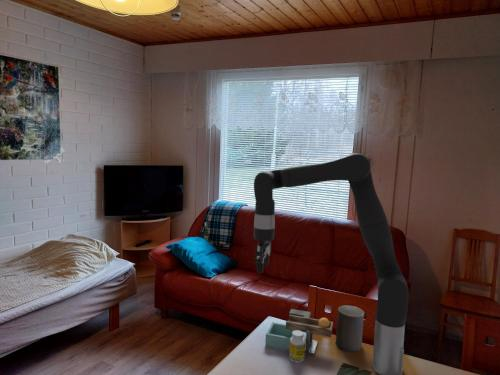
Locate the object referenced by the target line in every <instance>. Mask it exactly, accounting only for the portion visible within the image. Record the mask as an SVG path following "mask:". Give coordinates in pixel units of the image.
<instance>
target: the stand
mask: <svg viewBox="0 0 500 375" xmlns="http://www.w3.org/2000/svg"><path fill="white" fill-rule="evenodd" d="M305 335H306V336H305V338H304V339H305V355H308V356H311V357H312V356H313V357H314V356H315V353H316V349H317V346H318V340H313V337H314V334H310V330H308V329H307V333H306V334H305Z"/></svg>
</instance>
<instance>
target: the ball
mask: <svg viewBox="0 0 500 375" xmlns="http://www.w3.org/2000/svg"><path fill="white" fill-rule="evenodd" d="M318 320H319V326H320V327H323V328H328V327H329V325H330V323H329V322H330V321H329V319H328V318H327V317H321V318H319V319H318Z"/></svg>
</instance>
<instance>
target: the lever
mask: <svg viewBox="0 0 500 375" xmlns="http://www.w3.org/2000/svg"><path fill="white" fill-rule="evenodd" d="M311 313H312V312H311V311H306V310H300V309H294V308H291V309H290V311H289V313H288V320H286V321H285V325H286V329H288V330H294V331H295V330H299V331H302V332H303V333H307V329H308V330H310V334H313V335H316V336H317V335H318V336H321V337H328V338H332V335H333V331H334V330H333V329H334V322H333V321H329V323H330V325H329V327H328V328H323V327H320V326H319V320H320V319H316V318H312V317H311V316H312V314H311Z"/></svg>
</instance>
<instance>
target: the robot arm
mask: <svg viewBox="0 0 500 375" xmlns="http://www.w3.org/2000/svg"><path fill="white" fill-rule="evenodd" d="M371 168H372V167H371V162H370V160H369V158H368V157H367V156H366V155H364V154H362V153H360V152H355V153H350V154H349V155H346V156H344V157H342V158H338V159H335V160H331V161H327V162H321V163H314V164H303V165H297V166H291V167H285V168H283V169H273V170H265V171H260V172H258V174H256V175H255V176H254V180H253V192H254V193H253V194H254V198H255V204H254V205H255V207H254V208H255V209H254V219H253V220H254V221H253V239H254V240H256V241H258V243H257V244H256V245H255V246H254V247H255V249H254V263H256V273H257V274H263V272H264V267H269V265H270V256H271V254H272V241H273V240H274V239H275V226H276V225H275V224H276V221H275V220H276V218H275V212H276V211H275V209H276V207H275V205H276V204H275V203H276V202H275V199H274V197H273V196H274V193H273V191H274V190H275V189H276V190H277V189H282V188H295V187H300V186H301V187H302V186H307V185H309V186H310V185H312V184H317V183H323V182H331V181H348V184H349V187H350V189H351V192H352V195H353V199H354V205H355V213H356V217H357V218H356V219H357V222H358V227H359V230H360V233H361V236H362V239H363V242H364V244H365V246H366V248H367V250H368V253H369V254H370V256H371V257H372V261H373V265H374V268H375V272H376V278H377V288H378V289H377V299H376V300H377V303H376V311H375V324H374V336H373V337H374V338H373V353H372V361H371V362H372V363H371V365H372V367H371V368H372V369H373V370H374V372H375V373H377V374H379V375H403V365H404V357H405V356H404V354H405V349H404V342H405V327H406V319H407V317H408V316H407V315H408V305H409V296H410V294H409V293H410V292H409V288H408V287H409V286H408V285H407V281H406V279H405V277H404V275H403V273H402V270H401V268H400V266H399V262H398V261H397V258H396V254H395V248H394V247H395V246H394V241H393V237H392V232H391V227H390V223H389V221H388V218H387V215H386V212H385V210H384V208H383V205H382V203H381V200H380V199H379V195H378V194H377V191H376V188H375V185H374V180H373V175H372V169H371Z"/></svg>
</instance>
